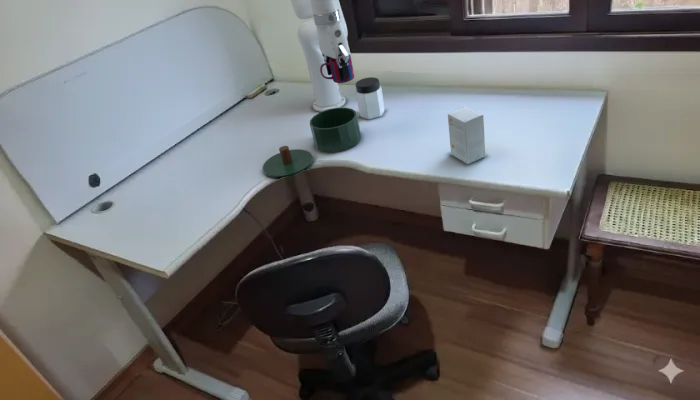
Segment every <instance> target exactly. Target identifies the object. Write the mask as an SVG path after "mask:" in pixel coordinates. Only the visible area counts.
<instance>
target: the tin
mask: <svg viewBox="0 0 700 400" xmlns="http://www.w3.org/2000/svg"><path fill="white" fill-rule="evenodd" d="M357 113H358V112H357V111H356V110H354V109H353V108H351V107H340V108H333V109H328V110H325V111H322V112H320V111H319V112H318V113H316V114H315V115H313V116H312V117H311V119H310V120H309V128H310V132H311V135H312V140H313V144H314V147H315V148H316V150H317V151H319V152H321V153H324V154H325V153H326V154H334V153H341V152H344V151H347V150H350V149H352V148H354V147H355V146H357V145H358V144H360V141H361V140H362V135H361V129H360V125H359V119H358V114H357Z"/></svg>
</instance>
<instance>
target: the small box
mask: <svg viewBox="0 0 700 400" xmlns="http://www.w3.org/2000/svg"><path fill="white" fill-rule="evenodd" d="M484 120H485V119H484V113H483V114H482V113H480V112H478V111H476V110H475V109H472V108H469V107H467V106H463V107H461V108H459V109H455V110H453V111H451V112H448V113H447V121H448V122H447V123H448V135H449V146H450V147H449V149H450V155H452V156H453V157H455V158H457V159H458V160H460V161H462V162H464V163H465V164H466V165H469V164H471V163H474V162H476V161H478V160H481V159H483V158H484V157H486V142H485V140H486V138H485V123H484Z"/></svg>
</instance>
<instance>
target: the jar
mask: <svg viewBox="0 0 700 400" xmlns="http://www.w3.org/2000/svg"><path fill="white" fill-rule="evenodd" d="M380 83H381V82H380V79H379V78H378V77H373V76H371V77H364V78H361V79H359V80H357V81H356V82H355V89H356V91H355V96H356V101H357V106H358V112H359V117H360V118H363V119H366V120H372V119H377V118H381V117H382V115H384V113H385V111H386V110H385V103H384V102H385V101H384V95H383V90H382V86H381V84H380Z"/></svg>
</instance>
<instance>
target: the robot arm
mask: <svg viewBox="0 0 700 400" xmlns="http://www.w3.org/2000/svg"><path fill="white" fill-rule="evenodd" d="M290 2H291V5H292V9H293V11H294V14H295V15H296V17H297V18H298V19H299V20H307V21H305V22H303V23H301V24H300V25H299V26H298V28H297V32H296V35H297V38H298V42H299V44H300V46H301V49H302V51H303V54H304V58H305V62H306V65H307V70H308V74H309V78H310V82H311V87H312V91H313V96H314V100H315V101H314V102H313V103H312V108H313V110H314V111H316V112H319V113H320V112H322V111H325V110H328V109H333V108H342V107H343V106H344V105H345V104H346V102H347V101H346V97H345V96H344V95H341V92H340V87H339V83H335V82H334V81H333V79H326V78H324V77H323V76H322V75H321V72H320V67H321V65H322V64H324V63H329V59H330V58H334V59H336V61H337V64H338V66H339V68H338V72H339V77H340V80H341V81H342V80H345V79H347V78H349V77H350V75H349V70H348V60H349V54H350V48H349V44H348V40H347V39H348V35H349V32H348V27H347V22H346V19H345V16H344V13H343V10H342V6H341V4H340V0H290ZM308 19H311V20H308ZM340 54H341V55H342V56H339V57H338V55H340ZM341 58H343V60H342V61H341V62H340V60H339V59H341ZM322 73H323V75H324V76H326V77H332V73H331V68H330V66H329V65H324V66H323V67H322Z"/></svg>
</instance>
